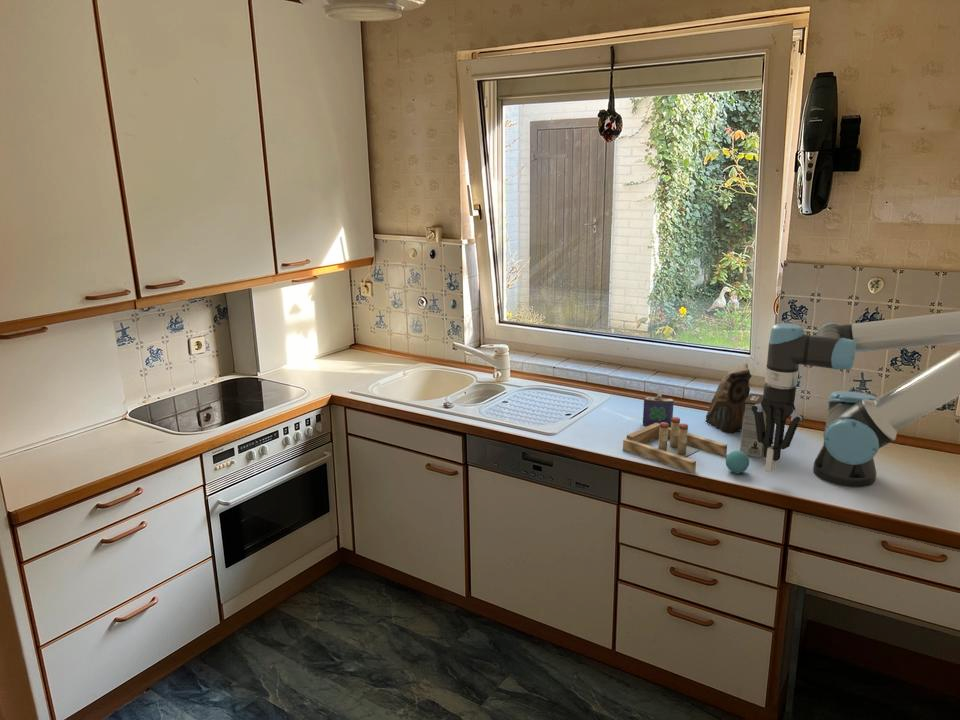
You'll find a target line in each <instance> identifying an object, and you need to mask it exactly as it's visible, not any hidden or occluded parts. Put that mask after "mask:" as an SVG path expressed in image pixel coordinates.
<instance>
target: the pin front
mask: <svg viewBox="0 0 960 720" xmlns="http://www.w3.org/2000/svg"><path fill="white" fill-rule="evenodd" d="M688 433H689V424H687V423H680V424H679V438H678V452H677V454H679V455H686V447H687V446H688V445H687V434H688Z"/></svg>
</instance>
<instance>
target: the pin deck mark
mask: <svg viewBox="0 0 960 720" xmlns="http://www.w3.org/2000/svg"><path fill="white" fill-rule="evenodd" d="M699 451H700V449H699V448H696V447H692V446H689V445H687V447H686V455H679V454H677V452H678V448H671V447H670V442H667V452H670V453H673V454H676V455H679V456H682V457H685V458H688V457H689V456H691V455H693V454H695V453H697V452H699Z"/></svg>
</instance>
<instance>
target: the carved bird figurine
mask: <svg viewBox="0 0 960 720" xmlns="http://www.w3.org/2000/svg"><path fill="white" fill-rule="evenodd" d="M748 365H749V364H748V363H747V362H746V363H742V364H741V365H738V366H735V367H733V368H732V369H731V370H730V371H728V372H727V373H726V374H724V376H723V377H722V379H721V381H720V382H719V384H718V387H717V388H716V390H715V393H714V395H713V397H712V399H711V401H710V404H709V408H708V410H707V413H706V415H705V420H704V421H705V422H704V423H706V422H707V424H708V423H709V425H710V424H711V426H712V427H714V428H715V429H717V430H719V429H720V430H719V431H721V432H723V433H726V434H729V433H730V434H731V435H732V434H737V433H742V430H741V429H742V423H743V412H744V402H745V400H746V399H747V397H748V396H749V394H750V391H751V388H750V379H751V378H752V374H751V372H750V371H751V370H750V369H749V367H748ZM730 434H729V435H730Z"/></svg>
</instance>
